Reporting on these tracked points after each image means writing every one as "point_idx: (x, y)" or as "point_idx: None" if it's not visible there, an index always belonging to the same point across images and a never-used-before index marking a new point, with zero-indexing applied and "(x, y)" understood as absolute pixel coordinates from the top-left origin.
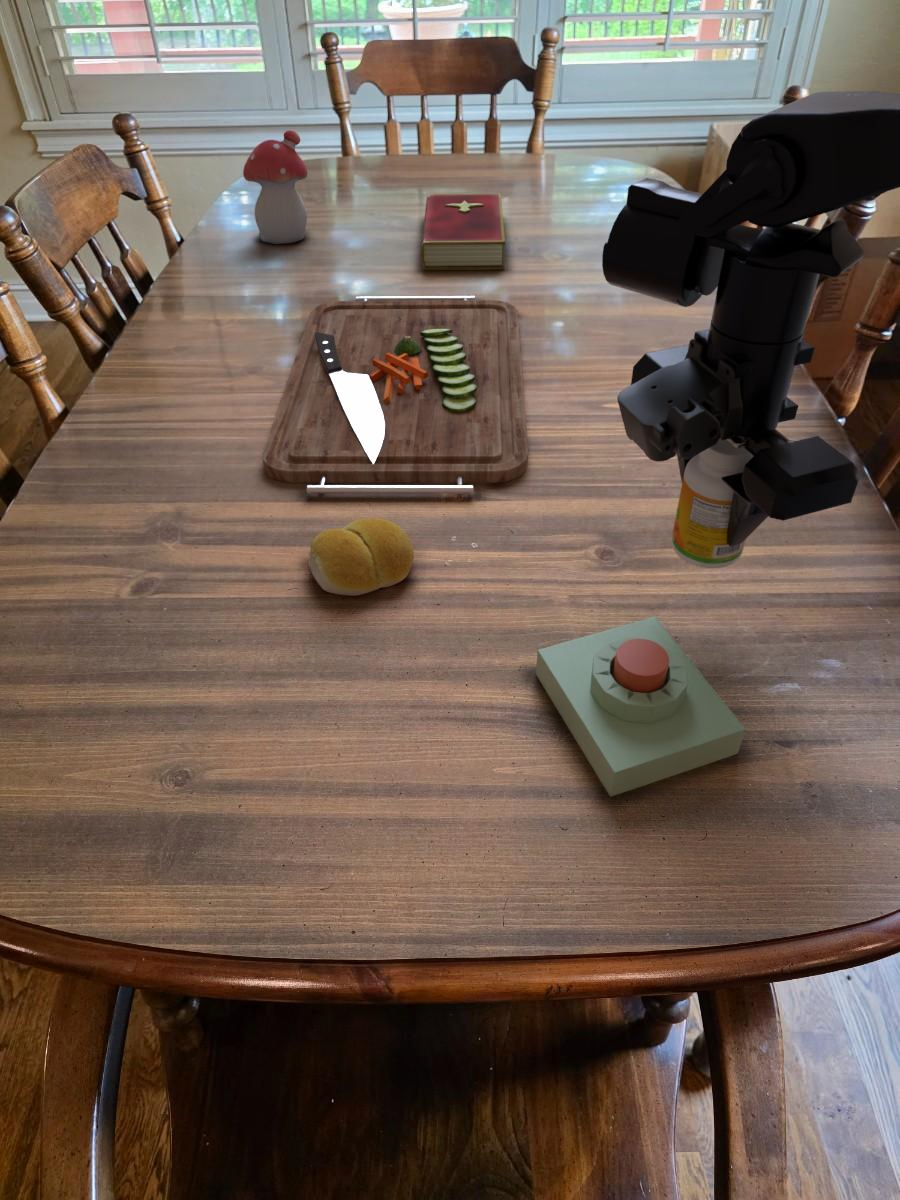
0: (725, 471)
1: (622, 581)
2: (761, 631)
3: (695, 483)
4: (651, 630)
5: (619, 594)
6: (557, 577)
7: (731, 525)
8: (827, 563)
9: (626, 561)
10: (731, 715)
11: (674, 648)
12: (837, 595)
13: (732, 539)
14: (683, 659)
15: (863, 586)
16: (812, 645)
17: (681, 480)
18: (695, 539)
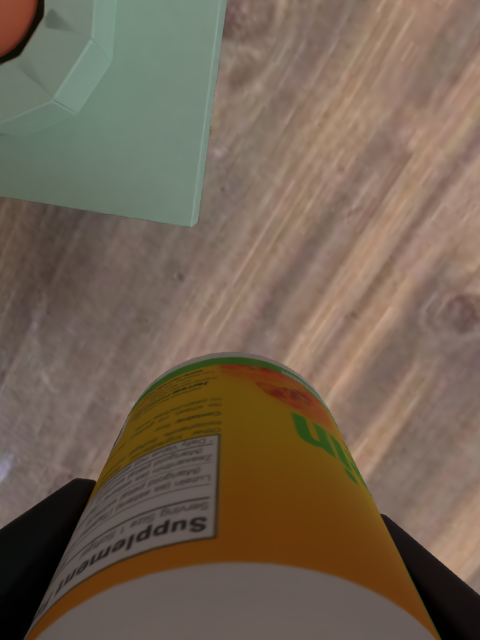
0: None
1: (375, 290)
2: (116, 426)
3: (232, 625)
4: (153, 185)
5: (347, 258)
6: (475, 169)
7: (19, 543)
8: None
9: (419, 337)
10: None
11: (74, 192)
12: None
13: (44, 499)
14: (33, 187)
15: None
16: (47, 474)
17: (451, 573)
18: (177, 402)
